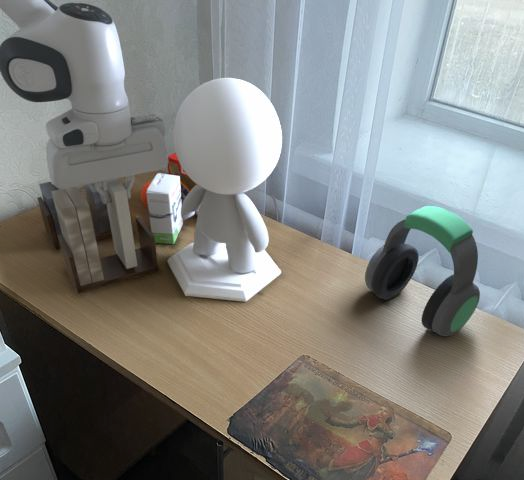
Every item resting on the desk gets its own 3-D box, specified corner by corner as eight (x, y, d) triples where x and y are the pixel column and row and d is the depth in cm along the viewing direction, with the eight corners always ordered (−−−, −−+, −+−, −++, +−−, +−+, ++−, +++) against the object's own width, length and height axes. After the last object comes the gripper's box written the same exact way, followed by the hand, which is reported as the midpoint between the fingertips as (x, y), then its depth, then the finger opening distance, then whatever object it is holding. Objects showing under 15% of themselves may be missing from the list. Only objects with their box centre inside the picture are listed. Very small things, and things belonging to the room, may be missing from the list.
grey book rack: (55, 250, 110) (42, 199, 102) (46, 231, 115) (32, 181, 107) (130, 232, 116) (123, 182, 108) (118, 215, 121) (110, 166, 113)
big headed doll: (296, 261, 110) (315, 80, 86) (226, 317, 97) (225, 121, 72) (221, 228, 118) (219, 54, 94) (147, 275, 105) (122, 86, 80)
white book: (126, 269, 103) (113, 192, 92) (114, 250, 107) (101, 175, 96) (137, 266, 103) (126, 189, 92) (125, 248, 108) (113, 172, 97)
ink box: (174, 245, 113) (169, 193, 105) (151, 242, 113) (145, 191, 105) (183, 224, 119) (180, 174, 111) (162, 222, 119) (157, 172, 111)
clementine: (141, 201, 126) (137, 172, 121) (170, 198, 127) (168, 170, 122) (144, 218, 120) (140, 189, 115) (175, 215, 122) (172, 186, 117)
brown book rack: (77, 293, 100) (57, 211, 88) (66, 270, 105) (45, 190, 93) (158, 271, 106) (149, 191, 94) (144, 250, 111) (133, 173, 99)
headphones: (355, 296, 103) (375, 201, 89) (392, 276, 108) (416, 183, 94) (436, 350, 93) (472, 253, 79) (472, 325, 98) (512, 229, 84)
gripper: (156, 106, 93) (163, 181, 102) (35, 125, 85) (55, 203, 95) (170, 119, 89) (176, 195, 98) (44, 140, 81) (64, 220, 91)
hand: (116, 199), depth 96 cm, fingers closed on white book, 2 cm apart
